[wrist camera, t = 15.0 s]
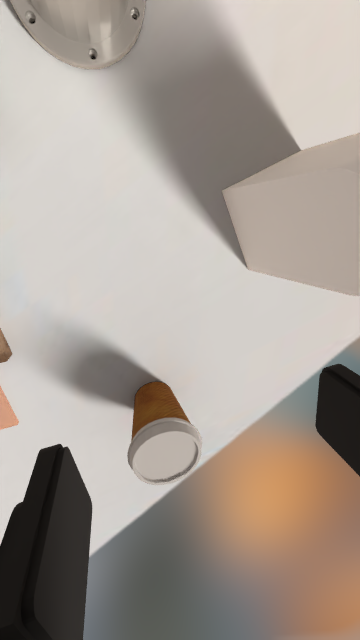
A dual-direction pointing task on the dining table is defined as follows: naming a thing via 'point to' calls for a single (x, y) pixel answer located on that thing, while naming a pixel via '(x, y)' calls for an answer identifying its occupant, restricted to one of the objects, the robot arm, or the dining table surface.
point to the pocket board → (4, 349)
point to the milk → (303, 217)
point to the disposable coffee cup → (162, 437)
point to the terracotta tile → (6, 413)
